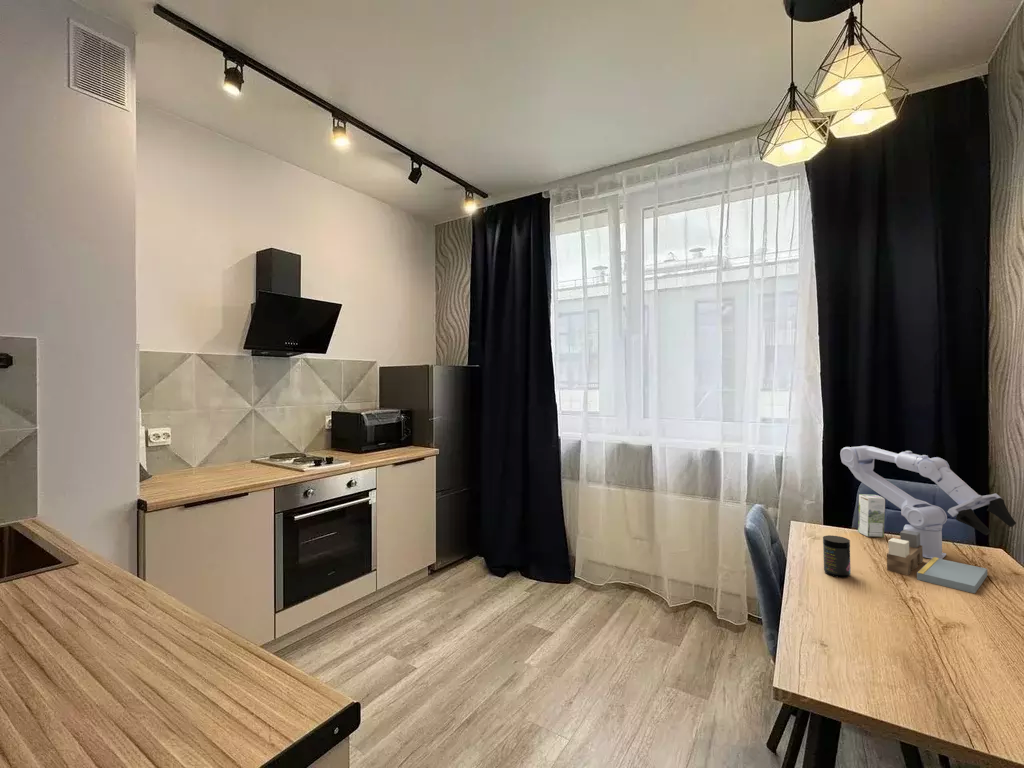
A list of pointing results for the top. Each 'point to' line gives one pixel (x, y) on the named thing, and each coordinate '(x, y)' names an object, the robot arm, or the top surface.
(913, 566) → the brown piece
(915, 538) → the gray cube
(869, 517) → the syrup box
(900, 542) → the cream block
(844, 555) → the supplement container
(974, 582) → the dock
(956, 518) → the robot arm
